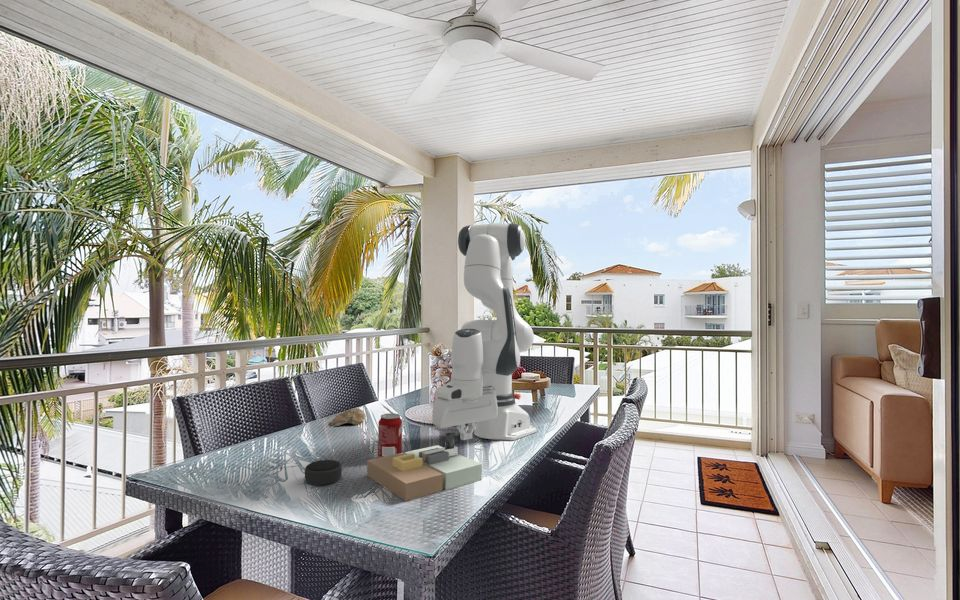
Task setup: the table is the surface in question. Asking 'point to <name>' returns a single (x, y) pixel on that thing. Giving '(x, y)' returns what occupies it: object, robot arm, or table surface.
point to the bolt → (448, 447)
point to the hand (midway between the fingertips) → (466, 439)
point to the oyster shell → (349, 417)
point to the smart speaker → (323, 472)
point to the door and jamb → (422, 472)
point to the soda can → (389, 435)
